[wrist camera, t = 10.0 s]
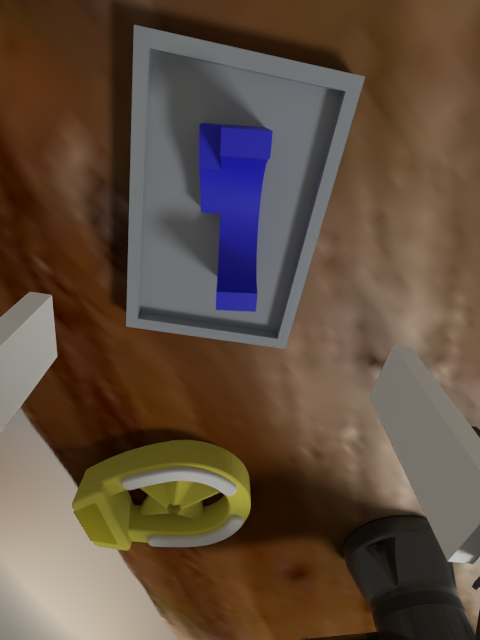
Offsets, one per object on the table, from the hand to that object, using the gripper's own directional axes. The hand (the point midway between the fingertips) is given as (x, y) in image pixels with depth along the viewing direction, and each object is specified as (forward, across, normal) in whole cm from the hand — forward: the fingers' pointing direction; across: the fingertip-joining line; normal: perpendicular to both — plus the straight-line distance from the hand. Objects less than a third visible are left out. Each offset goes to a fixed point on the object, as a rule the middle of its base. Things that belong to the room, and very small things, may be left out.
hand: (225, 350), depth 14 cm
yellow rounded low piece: (+20, +2, +35) cm, 40 cm away
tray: (+19, 0, -1) cm, 19 cm away
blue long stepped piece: (+18, 0, -1) cm, 18 cm away
